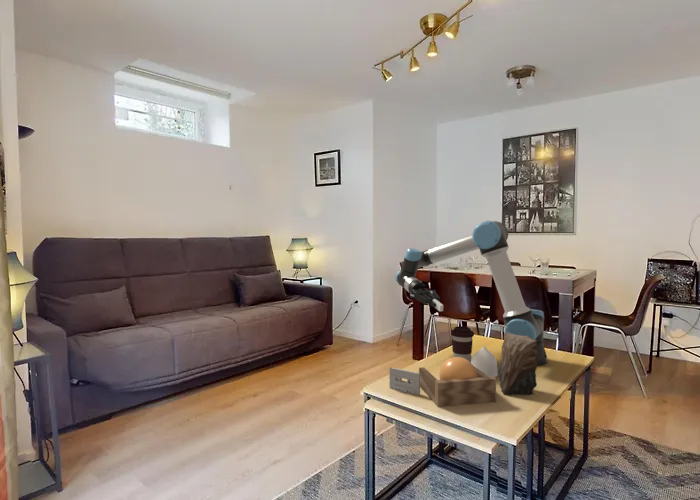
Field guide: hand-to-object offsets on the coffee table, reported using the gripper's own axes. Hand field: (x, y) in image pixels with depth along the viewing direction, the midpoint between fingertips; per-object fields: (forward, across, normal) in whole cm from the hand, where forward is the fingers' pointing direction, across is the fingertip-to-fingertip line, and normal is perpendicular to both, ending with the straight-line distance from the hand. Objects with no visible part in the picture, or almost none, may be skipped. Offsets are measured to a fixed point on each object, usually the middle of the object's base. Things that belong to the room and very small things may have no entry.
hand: (441, 308), depth 174 cm
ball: (+28, +8, -13) cm, 32 cm away
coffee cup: (+1, -14, -27) cm, 30 cm away
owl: (+34, -12, -18) cm, 41 cm away
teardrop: (+17, -13, -23) cm, 31 cm away
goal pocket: (+30, +10, -19) cm, 36 cm away
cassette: (+22, +26, -21) cm, 40 cm away
